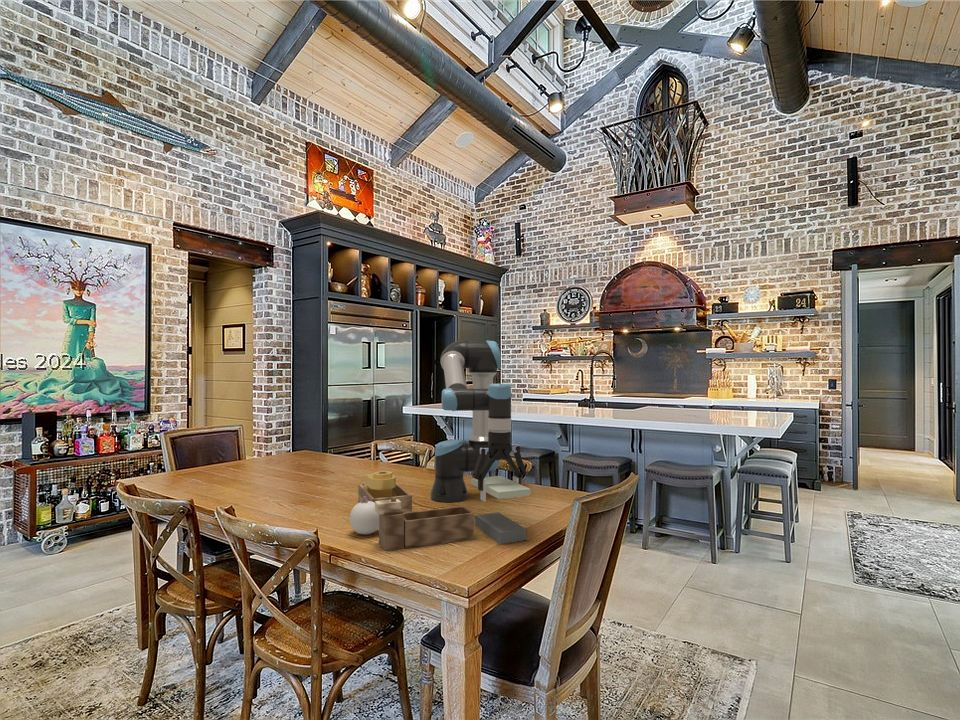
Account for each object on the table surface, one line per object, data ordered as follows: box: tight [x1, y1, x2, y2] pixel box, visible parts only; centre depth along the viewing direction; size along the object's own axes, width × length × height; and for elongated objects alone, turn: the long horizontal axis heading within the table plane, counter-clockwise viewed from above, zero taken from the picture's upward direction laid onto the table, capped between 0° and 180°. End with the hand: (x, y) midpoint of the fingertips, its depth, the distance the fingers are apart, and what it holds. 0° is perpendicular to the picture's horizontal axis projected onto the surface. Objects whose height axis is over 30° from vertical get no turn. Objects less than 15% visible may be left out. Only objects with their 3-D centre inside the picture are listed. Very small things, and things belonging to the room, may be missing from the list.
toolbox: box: [378, 505, 475, 552], centre depth 158 cm, size 28×9×11 cm, turn 113°
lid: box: [470, 475, 532, 500], centre depth 166 cm, size 22×11×2 cm, turn 23°
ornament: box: [349, 496, 379, 535], centre depth 165 cm, size 10×10×12 cm
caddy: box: [357, 481, 413, 513], centre depth 186 cm, size 14×25×9 cm, turn 23°
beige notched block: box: [375, 497, 401, 515], centre depth 154 cm, size 7×4×4 cm, turn 113°
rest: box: [474, 511, 527, 545], centre depth 166 cm, size 9×20×4 cm, turn 23°
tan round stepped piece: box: [363, 470, 397, 499], centre depth 187 cm, size 20×9×16 cm, turn 23°
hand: (499, 498), depth 166 cm, fingers closed on lid, 11 cm apart
